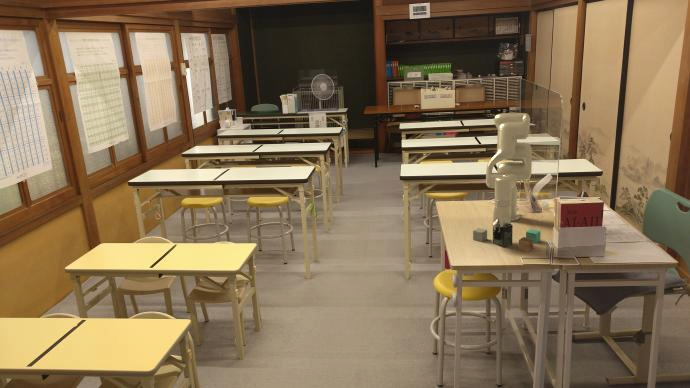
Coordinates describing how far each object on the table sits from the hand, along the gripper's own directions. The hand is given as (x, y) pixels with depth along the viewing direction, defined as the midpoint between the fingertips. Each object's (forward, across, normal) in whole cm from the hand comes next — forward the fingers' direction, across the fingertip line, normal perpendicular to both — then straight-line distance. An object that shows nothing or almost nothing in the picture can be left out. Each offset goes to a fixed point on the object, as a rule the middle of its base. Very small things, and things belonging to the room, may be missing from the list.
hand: (502, 236), depth 257 cm
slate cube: (+4, 0, -12) cm, 13 cm away
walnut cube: (+4, 0, +12) cm, 13 cm away
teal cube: (+4, -12, +10) cm, 16 cm away
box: (+4, 0, 0) cm, 4 cm away
